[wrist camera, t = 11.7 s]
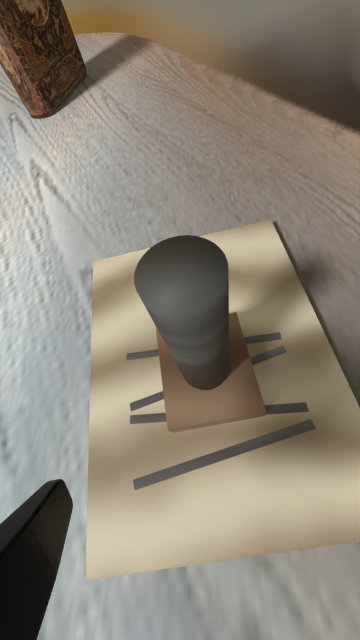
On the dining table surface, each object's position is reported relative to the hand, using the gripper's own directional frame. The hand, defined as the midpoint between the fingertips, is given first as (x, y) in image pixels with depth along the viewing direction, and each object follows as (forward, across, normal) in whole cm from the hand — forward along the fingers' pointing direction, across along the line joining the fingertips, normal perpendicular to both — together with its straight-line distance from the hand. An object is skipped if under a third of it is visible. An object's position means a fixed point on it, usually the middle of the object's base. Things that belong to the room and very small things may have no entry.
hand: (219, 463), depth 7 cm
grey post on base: (+12, 0, +3) cm, 12 cm away
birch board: (+13, 0, +3) cm, 14 cm away
